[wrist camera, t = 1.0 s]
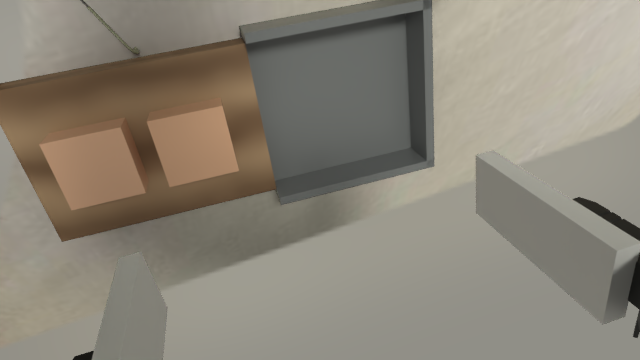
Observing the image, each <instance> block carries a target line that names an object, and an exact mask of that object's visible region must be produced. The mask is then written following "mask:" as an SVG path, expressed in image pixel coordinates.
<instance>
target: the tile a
mask: <svg viewBox="0 0 640 360" xmlns="http://www.w3.org/2000/svg"><path fill="white" fill-rule="evenodd" d="M39 145H40V147H41V149H42V151H43V153H44V156H45V158H46V160H47V162H48V164H49V166H50V168H51V170H52V172H53V174H54V176H55V178H56V180H57V182H58V184H59V186H60V188H61V190H62V192H63V194H64V196H65V198H66V200H67V202H68V204H69V206H70V208H71V210H76V209H80V208H84V207H89V206H93V205H97V204H101V203H106V202H110V201H114V200H118V199H122V198H127V197H131V196H135V195H139V194H144V193H146V190H147V186H148V181H149V179H148V177H147V174H146V172H145V169H144V166H143V164H142V161H141V158H140V156H139V153H138V150H137V148H136V145H135V142H134V140H133V137H132V134H131V132H130V129H129V126H128V124H127V121H126V118H125V117H124V118H120V119H115V120H110V121H105V122H100V123H96V124H91V125H86V126H81V127H77V128H72V129H67V130H62V131H57V132H53V133H49V134H48V135H47V136H46V137H45V138H44V139H43V141H42V142H41V143H40V144H39Z"/></svg>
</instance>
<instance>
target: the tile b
mask: <svg viewBox="0 0 640 360" xmlns="http://www.w3.org/2000/svg"><path fill="white" fill-rule="evenodd" d="M147 124H148V127H149V130H150V133H151V136H152V138H153V141H154V144H155V147H156V150H157V153H158V155H159V158H160V161H161V164H162V167H163V170H164V172H165V175H166V178H167V181H168V184H169V187H173V186H177V185H182V184H186V183H190V182H194V181H199V180H203V179H207V178H211V177H216V176H220V175H224V174H228V173H232V172H237V171H239V167H238V162H237V158H236V154H235V150H234V146H233V142H232V138H231V134H230V131H229V127H228V123H227V119H226V115H225V111H224V107H223V103H222V100H221V97H220V98H215V99H211V100H206V101H201V102H196V103H192V104H187V105H182V106H177V107H172V108H168V109H163V110H158V111H153V112H150V113H149V116H148V119H147Z"/></svg>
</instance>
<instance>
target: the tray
mask: <svg viewBox="0 0 640 360" xmlns="http://www.w3.org/2000/svg"><path fill="white" fill-rule="evenodd" d="M239 27H240V32H241V36H242V39H243V41H244V42H245V45H246V50H247V54H248V59H249V64H250V68H251V73H252V78H253V82H254V87H255V91H256V96H257V101H258V105H259V110H260V114H261V119H262V124H263V128H264V133H265V137H266V142H267V147H268V151H269V156H270V161H271V165H272V170H273V174H274V179H275V184H276V188H277V189H276V192H277V195H278V198H279V200H280V203H281V205H283V204H287V203H291V202H295V201H299V200H303V199H307V198H311V197H315V196H319V195H323V194H327V193H331V192H335V191H339V190H343V189H346V188H350V187H354V186H358V185H362V184H366V183H370V182H374V181H378V180H382V179H386V178H390V177H394V176H398V175H402V174H406V173H410V172H414V171H418V170H422V169H426V168H430V167H434V115H433V47H432V0H378V1H372V2H367V3H362V4H356V5H351V6H345V7H340V8H335V9H329V10H324V11H318V12H313V13H308V14H302V15H297V16H291V17H286V18H280V19H275V20H270V21H264V22H259V23H253V24H248V25H243V26H239Z"/></svg>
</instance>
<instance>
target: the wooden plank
mask: <svg viewBox="0 0 640 360" xmlns="http://www.w3.org/2000/svg"><path fill="white" fill-rule="evenodd" d="M220 97H221V100H222V103H223V107H224V111H225V115H226V119H227V123H228V127H229V131H230V134H231V138H232V142H233V146H234V150H235V154H236V158H237V162H238V167H239V171H237V172H232V173H228V174H224V175H220V176H216V177H211V178H207V179H203V180H199V181H194V182H190V183H186V184H182V185H177V186H173V187H169V184H168V181H167V178H166V175H165V172H164V170H163V167H162V164H161V161H160V158H159V155H158V153H157V150H156V147H155V144H154V141H153V138H152V136H151V133H150V130H149V127H148V124H147V119H148V116H149V113H150V112H153V111H158V110H163V109H168V108H172V107H177V106H182V105H187V104H192V103H196V102H201V101H206V100H211V99H215V98H220ZM124 117H125V118H126V121H127V124H128V126H129V129H130V132H131V134H132V137H133V140H134V142H135V145H136V148H137V150H138V153H139V156H140V158H141V161H142V164H143V166H144V169H145V172H146V174H147V177H148V179H149V181H148V186H147V190H146V193H144V194H139V195H135V196H131V197H127V198H122V199H118V200H114V201H110V202H106V203H101V204H97V205H93V206H89V207H84V208H80V209H76V210H71V208H70V206H69V204H68V202H67V200H66V198H65V196H64V194H63V192H62V190H61V188H60V186H59V184H58V182H57V180H56V178H55V176H54V174H53V172H52V170H51V168H50V166H49V164H48V162H47V160H46V158H45V156H44V153H43V151H42V149H41V147H40V145H39V144H40V143H41V142H42V141H43V139H44V138H45V137H46V136H47V135H48V134H49V133H53V132H57V131H62V130H67V129H72V128H77V127H81V126H86V125H91V124H96V123H100V122H105V121H110V120H115V119H120V118H124ZM0 125H1V127H2V129H3V131H4V133H5V134H6V136H7V138H8V140H9V142H10V144H11V146H12V148H13V150H14V152H15V153H16V155H17V157H18V159H19V161H20V163H21V165H22V167H23V169H24V170H25V172H26V174H27V176H28V178H29V180H30V182H31V184H32V186H33V188H34V189H35V191H36V193H37V195H38V197H39V199H40V201H41V203H42V205H43V207H44V208H45V210H46V212H47V214H48V216H49V218H50V220H51V222H52V224H53V225H54V227H55V229H56V231H57V233H58V235H59V237H60V239H61V241H62V242H63V241H67V240H71V239H75V238H80V237H84V236H88V235H92V234H96V233H100V232H104V231H108V230H112V229H116V228H120V227H124V226H128V225H132V224H136V223H140V222H145V221H149V220H153V219H157V218H161V217H165V216H169V215H173V214H177V213H181V212H185V211H189V210H193V209H197V208H201V207H205V206H210V205H214V204H218V203H222V202H226V201H230V200H234V199H238V198H242V197H246V196H250V195H254V194H258V193H262V192H266V191H270V190H275V189H277V188H276V184H275V179H274V174H273V170H272V165H271V161H270V156H269V151H268V147H267V142H266V137H265V133H264V128H263V124H262V119H261V114H260V110H259V105H258V101H257V96H256V91H255V87H254V82H253V78H252V73H251V68H250V64H249V59H248V54H247V50H246V45H245V42H244V41H243V39H242V38H238V39H233V40H228V41H222V42H217V43H212V44H207V45H201V46H196V47H191V48H185V49H180V50H175V51H169V52H164V53H159V54H154V55H148V56H143V57H138V58H132V59H127V60H122V61H117V62H111V63H106V64H101V65H95V66H90V67H85V68H80V69H74V70H69V71H64V72H58V73H53V74H48V75H43V76H37V77H32V78H27V79H21V80H16V81H11V82H5V83H0Z"/></svg>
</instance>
